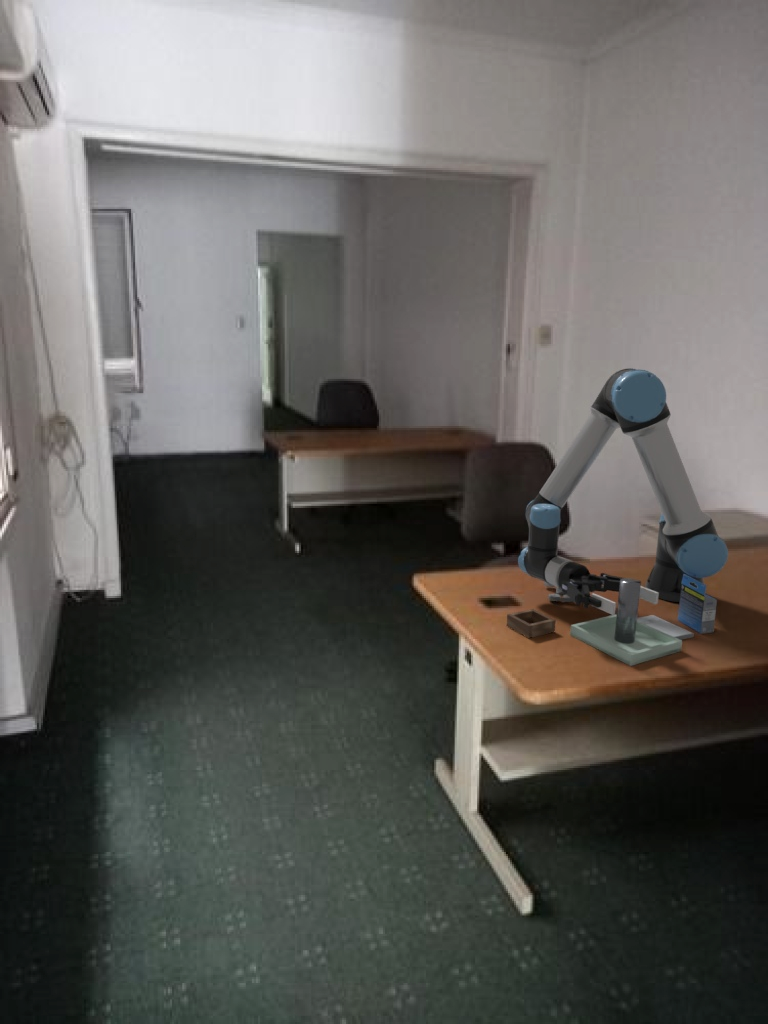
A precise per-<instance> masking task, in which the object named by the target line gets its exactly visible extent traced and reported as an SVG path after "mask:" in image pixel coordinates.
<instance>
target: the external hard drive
mask: <svg viewBox="0 0 768 1024" xmlns="http://www.w3.org/2000/svg"><path fill="white" fill-rule="evenodd" d="M637 621H639V622H641V623H643V624H645V625H648V626H650V627H652V628H654V629H657V630H659V631H661V632H664V633H666V634H668V635H670V636H673V637H675V638H677V639H679V640H682V641H683V640H686V639H690V638H691V639H692V638H694V634H695V633H694V632H691V631H689V630H687V629H685V628H683V627H682V626H681V627H680V626H679V625H677V624H674V623H672V622H669V621H667V620H665V619H664V618H660V617H658V616H656V615H655V614H651V615H646V616H640V617H639V616H638V617H637Z"/></svg>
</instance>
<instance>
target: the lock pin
mask: <svg viewBox="0 0 768 1024" xmlns="http://www.w3.org/2000/svg"><path fill="white" fill-rule="evenodd" d="M622 578H623V579H621V580H620V587H619V592H618V598H617V606H616V607H617V608H616V614H617V616H616V626H615V636H614V639H615V640H616V641H618V642H620V643H625V644H630V643H634V641H635V632H636V623H637V618H638V612H639V603H640V598H639V595H640V586H642V581H641V580H638V579H636V578H635V579H634V578H628V577H627V578H626V577H622ZM640 581H641V582H640Z"/></svg>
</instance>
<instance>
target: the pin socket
mask: <svg viewBox="0 0 768 1024" xmlns="http://www.w3.org/2000/svg"><path fill="white" fill-rule="evenodd" d="M530 622H531V623H530ZM532 622H533V623H532ZM507 626H508V627H507ZM506 627H507V628H509V627H510V628H509V629H511V628H512V630H513V629H514V630H515V632H516V631H517V632H516V633H518V632H519V633H518V634H520V633H521V634H520V635H522V634H523V635H525V636H526V638H527V637H528V639H531V638H530V637H532V638H535V637H540V636H544V635H548V633H549V634H551V632H553V633H555V632H556V619H555V618H553V617H550V616H549V615H546V614H544V613H542V612H541V611H538V610H536V609H534V608H531V609H526V610H522V611H518V612H512V613H507V615H506ZM514 630H513V631H514ZM554 631H555V632H554ZM523 635H522V636H523ZM525 636H524V637H525Z"/></svg>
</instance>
